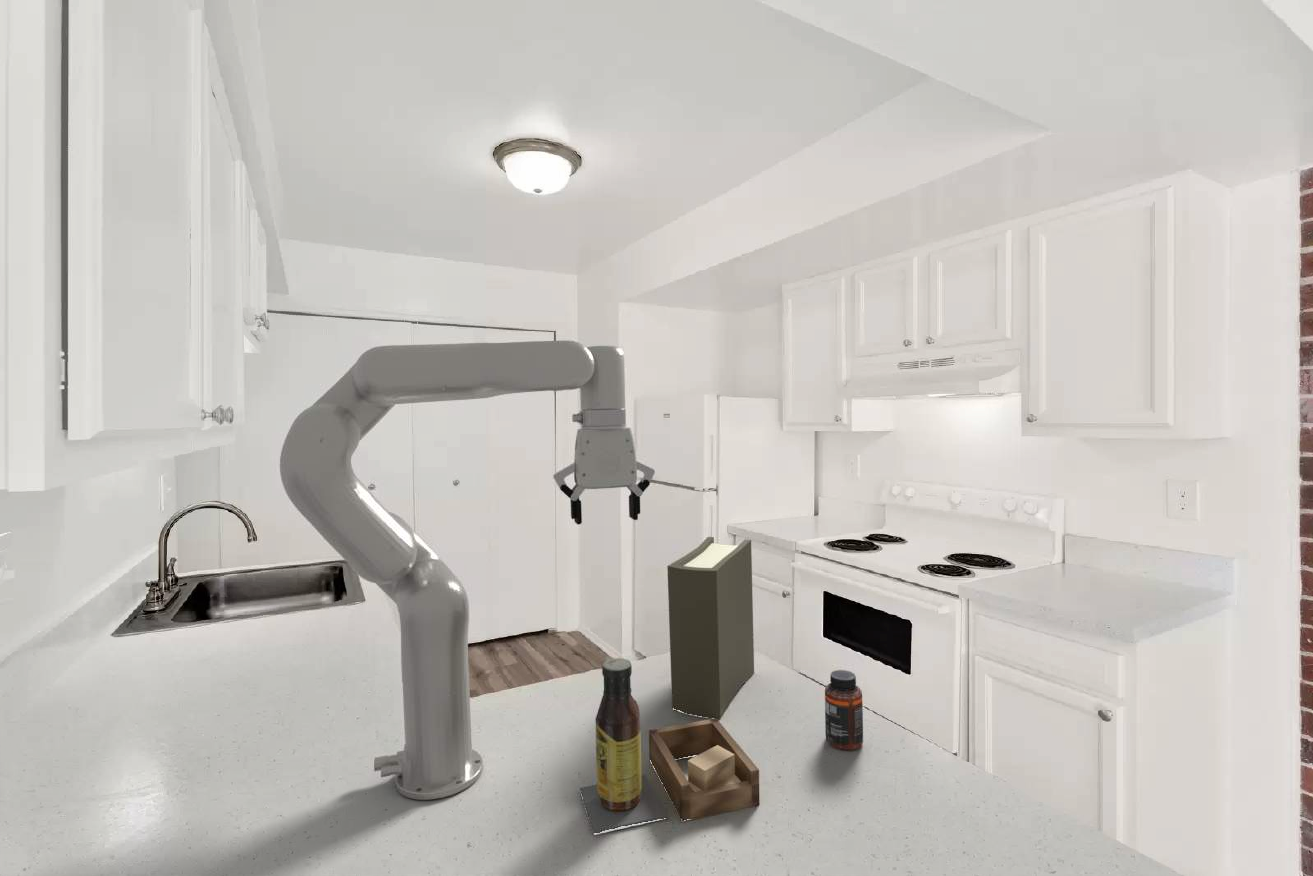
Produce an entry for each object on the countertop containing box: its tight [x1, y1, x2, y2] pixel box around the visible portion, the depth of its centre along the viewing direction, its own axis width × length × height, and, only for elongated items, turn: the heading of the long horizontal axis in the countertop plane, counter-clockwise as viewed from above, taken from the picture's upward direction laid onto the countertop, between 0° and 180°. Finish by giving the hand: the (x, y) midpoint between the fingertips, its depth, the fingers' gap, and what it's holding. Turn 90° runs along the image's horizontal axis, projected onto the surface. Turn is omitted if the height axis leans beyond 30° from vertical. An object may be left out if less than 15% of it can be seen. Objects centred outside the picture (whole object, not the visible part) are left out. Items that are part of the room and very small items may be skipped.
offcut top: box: [687, 745, 735, 790], centre depth 91 cm, size 6×3×3 cm, turn 130°
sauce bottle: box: [595, 657, 642, 811], centre depth 89 cm, size 7×6×20 cm
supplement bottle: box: [824, 669, 864, 751], centre depth 104 cm, size 6×6×11 cm
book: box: [667, 536, 755, 720], centre depth 123 cm, size 22×9×28 cm, turn 155°
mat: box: [579, 774, 668, 834], centre depth 89 cm, size 10×10×1 cm
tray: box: [648, 718, 760, 822], centre depth 94 cm, size 11×15×5 cm
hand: (606, 520), depth 108 cm, fingers open, 9 cm apart
